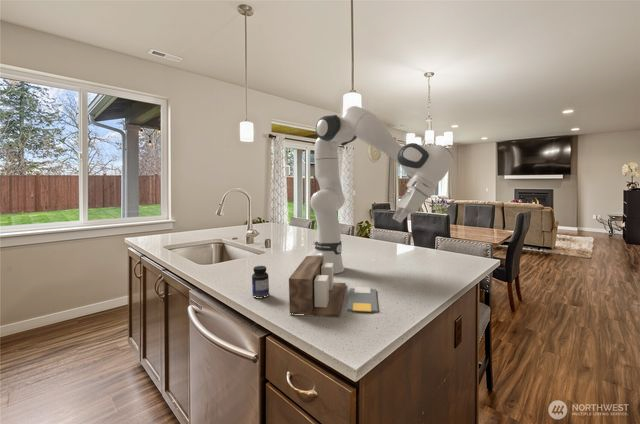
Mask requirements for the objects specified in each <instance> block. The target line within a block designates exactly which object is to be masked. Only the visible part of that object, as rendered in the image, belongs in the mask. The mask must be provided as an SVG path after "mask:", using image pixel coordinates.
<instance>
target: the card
mask: <svg viewBox="0 0 640 424" xmlns="http://www.w3.org/2000/svg"><path fill="white" fill-rule="evenodd" d="M377 301H378V300H377V291H376V288H371V287H364V286H360V287H359V286H355V287H354V288H352V287H350V288H349V292H348V297H347V305H346V312H358V313H359V312H361V313H378V302H377Z"/></svg>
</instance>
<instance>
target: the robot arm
mask: <svg viewBox="0 0 640 424" xmlns="http://www.w3.org/2000/svg"><path fill="white" fill-rule="evenodd" d="M315 133H316V136H317V138H316V140H315V142H314V143H315V144H314V155H313V156H314V172H315V173H314V174H315V178H316V181H317V183H318V186H319V190H317V191H316V192H314V193H313V194H312V196H311V197H310V201H309V202H310V208H311V209H312V211H313V212H314V217H315V221H316V227H317V229H316V233H317V240H316V241H314V242H313V243H312V245H313V246H314V248H313V249H312V250H311V251H310V252H308V253H307V254H306V255H305V256H304V258H305V257H306V256H323V261H324V263H333V275H336V274H339V273H343V272H344V271H345V267H344V264H343V258H342V247H343V246H342V244H343V243H342V240H341V239H342V237H341V223H340V222H339V218H338V217H339V216H338V213H337V211H339V210H340V209H341V208H342V207H343V206H344V205H345V201H346V197H345V195H344V193H343V188H342V185H341V184H342V183H341V180H340V173H339V172H340V169H339V154H338V153H339V152H338V150H339V147H340V146H346V145H349V144H350V143H352V142H354V141H355V140H356V139H359V140H361V141H362V142H363V143H366V144H368V145H369V146H371V147H373V148H375V149H376V150H378V151H381V152H382V153H383V154H385V155H387V156H388V157H389V158H391V160H393V161H395V162H396V163H397V164H398V165H400V167H401V168H402V170H403V171H404V172H405V173H406V175H407V177H408V178H409V181H408V182H407V183H406V185H405V186H406V187H407V189H406V191H405V193H404V195H403V196H402V197H401V198H400V200H399V201H398V202H397V204H396V211H395V213H394V214H393V216H392V220H394V221H396V222H398V223H400V224H401V223H403V221H404V220H405V219H406V218H407V217H408V216H409V215H410V214H415V213H416V212H417V211H419V209H420V208H421V207H422V205H424V203H425V202H426V201H427V200H429V199H430V198H431V197H432V196H433V194H434V191H435V190H436V189H437V187H438V184H439V182H440V181H442V180H443V179H444V178H445V176H446V175H447V173H448V172H449V170H450V169H451V168H452V165H453V163H454V156H453V153H452V152H451V151H450V150H449V149H448V148H446V146H444V145H442V144H437V145H421V144H418V143H415V142H414V143H413V142H411V143H407V144H405V145H401V144H400V143H399V142H398V141H397V140H396V139H395V137H394V136H393V135H392V134H391V132H390V131H389V129H388V128H387V126H386V124H385V123H384V122H383V121H382V119H380V118H379V117H378V116H377V115H375V114H374V113H372V112H370V111H369V110H367V109H366V108H363V107H360V106H356V105H353V106H349V107H348V108H347V109H345V111H344V112H343V115H341V116H338V115H337V114H333V115H330V114H329V115H324V116H321V117H320V118H319V119H317V122H316V123H315Z"/></svg>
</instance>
